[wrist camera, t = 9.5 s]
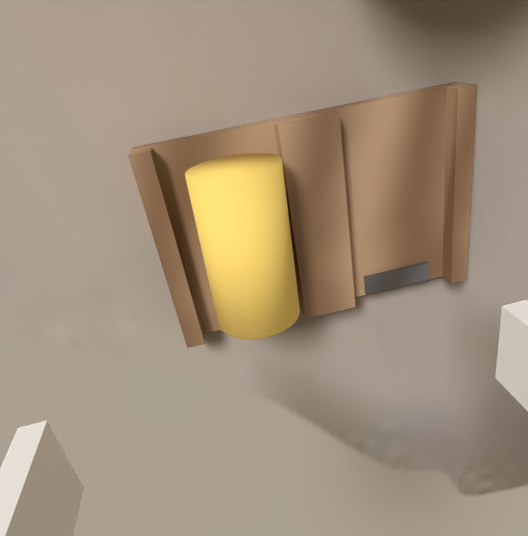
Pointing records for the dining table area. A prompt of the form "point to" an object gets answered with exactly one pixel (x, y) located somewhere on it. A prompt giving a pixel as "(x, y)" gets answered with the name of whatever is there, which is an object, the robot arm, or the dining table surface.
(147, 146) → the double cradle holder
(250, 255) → the yellow foam roll
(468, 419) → the dining table surface
